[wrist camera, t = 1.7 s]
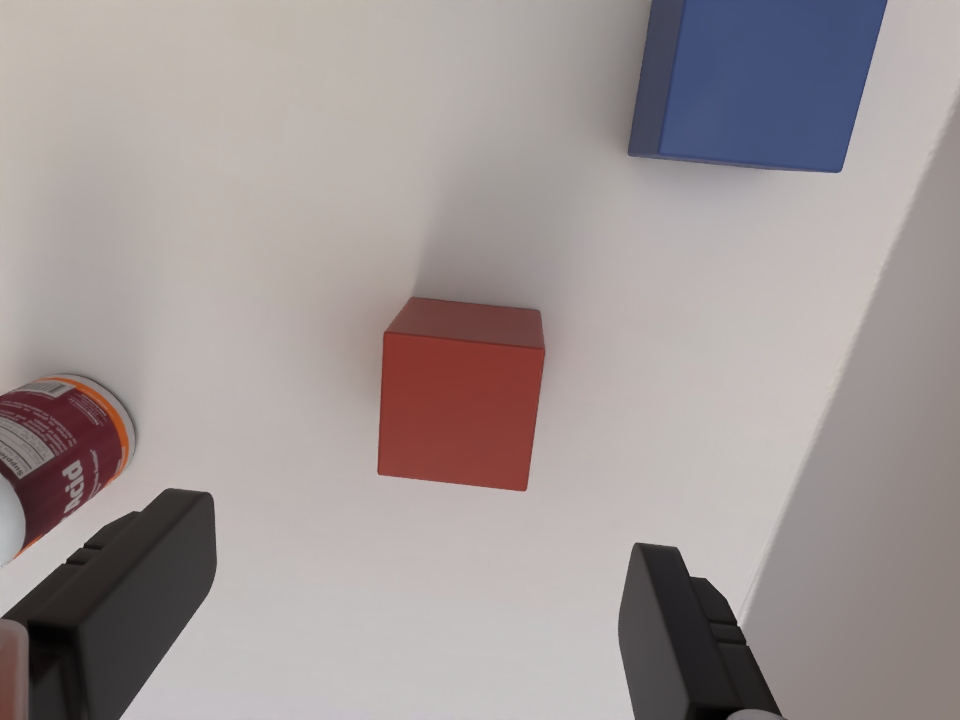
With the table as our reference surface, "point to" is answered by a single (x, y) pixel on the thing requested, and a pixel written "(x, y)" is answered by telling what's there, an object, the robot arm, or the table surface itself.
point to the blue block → (754, 81)
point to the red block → (460, 393)
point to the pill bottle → (56, 454)
